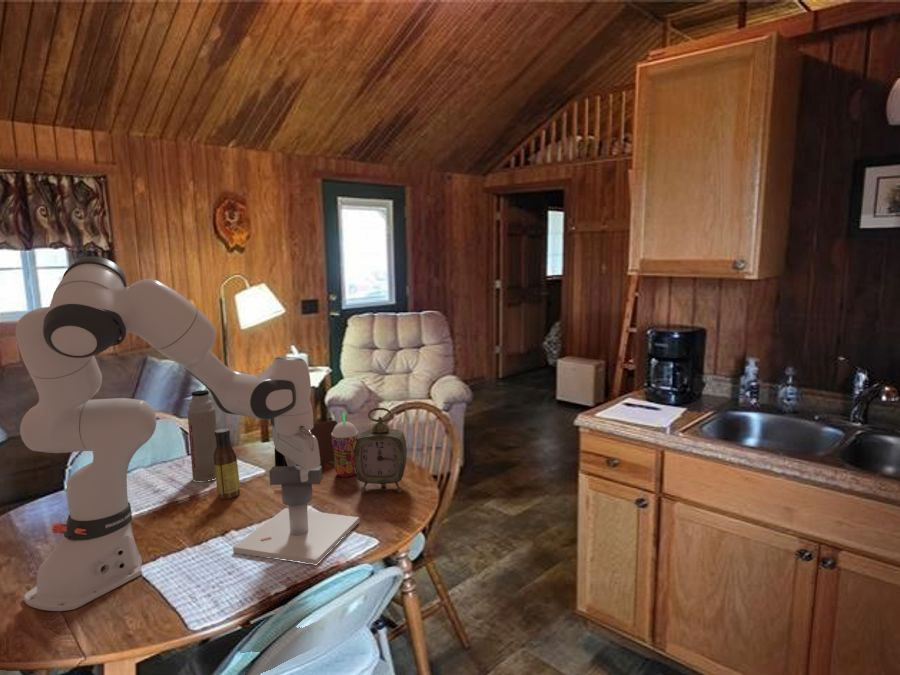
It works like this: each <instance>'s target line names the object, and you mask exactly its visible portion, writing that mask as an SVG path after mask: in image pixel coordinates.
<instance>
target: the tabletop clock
mask: <svg viewBox="0 0 900 675" xmlns="http://www.w3.org/2000/svg"><path fill="white" fill-rule="evenodd" d="M375 411H385V412H387V413H388V414H389V417H387V418H384V419H383V417H382V416H379V417H378V418H377V419H375V418H373V417H371V413H373V412H375ZM367 416H368V419H370V420H371V421H372V422H375V423H374V424H373V426H372V428H371V429H370V428H369V429H365V430H363V431H361V432H360V435H358V439H357V442H356V445H355V453H354V462H355V471H356V473H355V475H356V477H357V479H358V481H359V482H361V483H364V485H363V486H362V487H361V488H360V490H359V491H360V492H361V493H365V492H366V491H367V489H366V487H367V485H368V484H374V485H380V486H381V487H382V486H384V487H386V485H387V484H388V485H389V484H395V485H396V492H397V493H401V492H403V489H402V487H400V485H399V482H401V481H402V478H403V476H404V472H405V469H406V466H407V459H408V458H407V457H408V456H407V455H408V449H407V440H406V436H405V434H404V432H403V431H402V430H400V429H393V428H390V427H389V425H388V424H387V423H385V422H389V421H390V420H391V419H392V417H393V413H392V412H391V410H389V409H387V408H385V407H375V408H373V409H371V410H370V411H368V414H367Z"/></svg>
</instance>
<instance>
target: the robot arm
mask: <svg viewBox="0 0 900 675" xmlns="http://www.w3.org/2000/svg"><path fill="white" fill-rule="evenodd" d="M127 285H128V284H127V279H126V276H125V273H124V271H123V270H122V269H121V267H120V265H118V264H116V262H113V261H112V260H110V259H107V258H104V257H102V256H86V257H82V258H79V259H78V260H76V261H74V262H73V263H72V264H71V265H70V266H69V267H68V268H67V269H66V270H65V272H64V273H63V275H62V278H61V280H60V281H59V283H58V285H57V286H56V288H55V290H54V291H53V294H52V298H51V300H50V304H49V306H46V307H38V308H35V309H32V310H30V311H28V312H27V313H25V314H24V315H23V316H21V317H20V318H19V320H18V321H17V323H16V326H15V338H16V342H17V345H18V350H19V352H20V356H21V358H22V360H23V363H24V365H25V368H26V370H27V372H28V373H29V375H30V377H31V380H32V381H33V384H34V386H35V388H36V391H37V394H38V402H37V403H36V405H34V406H32V407H31V408H29V410H28V411H26V412H25V414H24V416H23V418H22V420H21V422H20V428H19V434H20V437H21V440H22V442H23V443H24V445H25V447H27V448H28V449H29V450H31V451H33V452H41V453H42V452H43V453H53V454H62V453H66V454H67V453H74V452H75V453H77V452H92V455H93V456H92V462H90V463H87V464H86V465H84V466H81V468H79V469H77V470H76V471H75V472H74V473H73V474H72V475H71V476H70V477H69V479H68V482H67V484H66V485H67V486H66V490H67V499H68V500H67V501H68V510H69V511H68V512H69V514H68V516H67V519H66V524H64V523H60V522H56V523H54V524H53V525H52V527H51V531H52V533H53V534H60V535H62V534H63V537H62V538H61V540H60V541H59V542H58V543H57V545H56V546H55V547H54V549H52V551H51V552H50V553H49V554H48V556H47V557H46V558H45V559H44V561H43V562H42V563H41V564H40V565H39V567H38V569H37V574H36V585H35V586H34V587H32V588H31V589H30V590H28V591H27V592H26V593H25V594H24V597H23V602H24V603H25V604H26V605H27V606H29V607H31V608H34V609H36V610H37V609H38V610H42V611H49V612H50V611H51V612H64V611H71V610H76V609H78V608H80V607H83V606H84V605H86V604H88V603H90V602H91V601H93V600H95V599H97V598H100V597H101V596H103V595H105V594H107V593H109V592H111V591H113V590H114V589H117V588H118V587H121V586H122V585H124V584H126V583H127V582H128V583H129V581H132V580H134V579H135V578H137V577H139V576H141V575H142V574H143V571H142V567H141V566H142V564H143V558H142V556H141V554H140V552H139V550H138V547H137V544H136V541H135V536H134V533H133V528H132V522H131V521H132V520H133V515H132V513H133V512H132V508H131V507H132V506H131V503H130V502H129V501H128V500H129V499H128V498H129V497H128V469H129V465H130V463H131V461H132V459H133V457H134V455H135V454H136V452H138V450H139V449H140V448H142V446H143V445H145V444H146V443H147V442H148V441H149V440H150V439H151V438H152V437H153V435H154V434H155V431H156V428H157V415H156V412H155V410H154V408H153V406H152V405H151V404H150V403H149V402H148V401H146V400H143V399H137V398H135V399H134V398H127V397H117V398H100V399H99V398H97V399H92V398H93V397H94V396H95V395H96V394H97V393H98V392H99V390H100V389H101V387H102V383H103V375H102V371H101V369H100V367H99V364H98V362H97V359H96V357H95V356H97V355H99V354H101V353H102V352H104V351H107V350H108V349H109V348H111V347H115V346H118V345H120V344H122V343H123V342H124V340H125V339H126V335H127V333H129V334H134V335H136V336H138V337H140V339H142V340H144V342H146V343H147V344H149V345H150V346H151V347H152V348H153V349H155V350H157V352H159V353H160V354H161V355H163V356H164V357H166V358H168V359H169V360H171V361H172V362H174V363H176V364H178V365H180V366H181V367H182V368H184V369H185V370H186V372H188V373H189V374H190V375H192V376H193V378H195V379H196V380H197V381H198V382H200V383H201V384H202V385H203V386H204V387H205V388H206V390H207V391H209V394H211V396H212V398H213V400H214V403H215V404H216V406H217V407H218V408H219V410H220V411H222V412H224V413H226V414H229V415H236V416H237V415H238V416H243V417H247V418H251V419H256V420H257V419H258V420H263V421H264V420H265V421H268V420H269V425H271V426H272V427H271V430H272V431H271V432H272V438H273V439H272V440H273V445H274V449H275V448H276V450H277V451H278V452H280V453H281V454H283V455H284V456H285V459H286V462H287V465H288V466H296V464H297V465H299V469H300V474H299V480H300V481H301V482H306V481H308V473H309V470H313V469H317V468H319V466H321V464H320V453H319V446H318V441H317V439H316V437H315V436H314V435H312V432H311V431H310V430H312V429H313V425H314V414H313V406H312V403H311V394H312V384H311V376H310V370H309V366H308V363H307V361H306V360H304V359H303V358H301V357H293V356H277V357H274V358H273V361H272V362H271V363H270V365H269V366H268V367H267V368H266V369H265V370H264V371H263V372H261V373H259V374H257V375H256V374H250V373H245V372H242V371H238V370H234V369H231V368H229V367H228V366H227V365H225V363H223V361H221V360H220V358H218V357H217V356H216V355H215V354H214V353H213V352H212V350H213V349H214V346H215V345H216V341H217V330H216V327H215V326H214V325H213V323H212V322H211V321H210V319H209V318H208V317H207V316H206V315H205V314H204V313H203V312H202V311H201V310H200V309H199V308H198V307H196V306H195V305H194V304H193V303H192V302H191V301H189V299H187V298H185V297H184V296H183V295H181V294H180V293H179V292H177V291H176V290H174V289H173V288H171V287H169V285H166V284H165V283H162V282H161V281H159V280H157V279H154V278H143V279H140V280H137V281H135V282H134V283H132V284H130V285H129V286H127Z"/></svg>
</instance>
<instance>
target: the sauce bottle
mask: <svg viewBox="0 0 900 675" xmlns="http://www.w3.org/2000/svg"><path fill="white" fill-rule="evenodd" d="M230 435H231V431H230V429H229V428H225V427H224V428H220V429H219V428H218V429H217V430H216V431H215V436H216V442H217V444H216V445H217V448H216V450H215V452H214V466H215V475H216V479H215V482H216V490H217V491H216V492H217V494H218V495H217V496H218V498H219V499H223V500H226V499H227V500H228V499H234V498H236V497H237V496H239V495H240V494H241V491H240V488H241V484H240V475H239V466H238V465H239V464H238V458H237V455H236V451H235V450H234V448H233V446H232V443H231V438H230V437H231V436H230Z"/></svg>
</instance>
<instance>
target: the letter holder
mask: <svg viewBox="0 0 900 675" xmlns="http://www.w3.org/2000/svg"><path fill="white" fill-rule="evenodd" d="M337 424H338V422H337V420H336V419H335V420H326V421H322V422H318V423H315V424H314V423H313V429H312V430H310V431H311V432H312V435H314V436H315V437H316V439H317V441H318V446H319V453H320V465H321V464H323V463H327V462H329V461H331V460H332V461H333V460H334V453H333V444H332V435H331V433H332V432H333V429H334V428H335V426H336V425H337ZM326 461H327V462H326ZM281 466H288V465H287V462H286V459H285V456H284V455H283V454H281V453H280V452H278V451H277V450H276V448H275V447H274V467H281ZM296 466H299V465H297V464H296Z"/></svg>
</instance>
